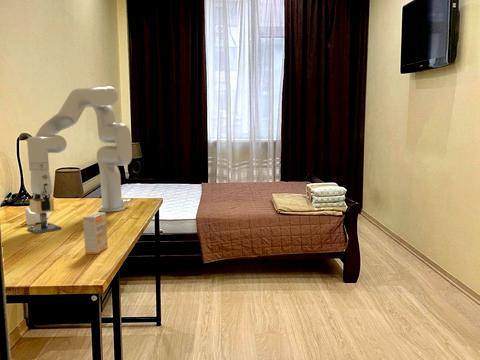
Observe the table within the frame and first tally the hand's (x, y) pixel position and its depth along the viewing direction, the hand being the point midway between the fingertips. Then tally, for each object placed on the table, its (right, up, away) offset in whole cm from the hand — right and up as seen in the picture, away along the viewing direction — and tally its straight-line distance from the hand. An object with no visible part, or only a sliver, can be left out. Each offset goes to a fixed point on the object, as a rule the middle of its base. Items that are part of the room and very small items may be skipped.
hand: (42, 209), depth 201 cm
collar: (0, -1, 0) cm, 1 cm away
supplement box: (+32, -13, -32) cm, 47 cm away
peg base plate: (0, -9, +1) cm, 9 cm away
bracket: (-9, -7, +18) cm, 21 cm away
